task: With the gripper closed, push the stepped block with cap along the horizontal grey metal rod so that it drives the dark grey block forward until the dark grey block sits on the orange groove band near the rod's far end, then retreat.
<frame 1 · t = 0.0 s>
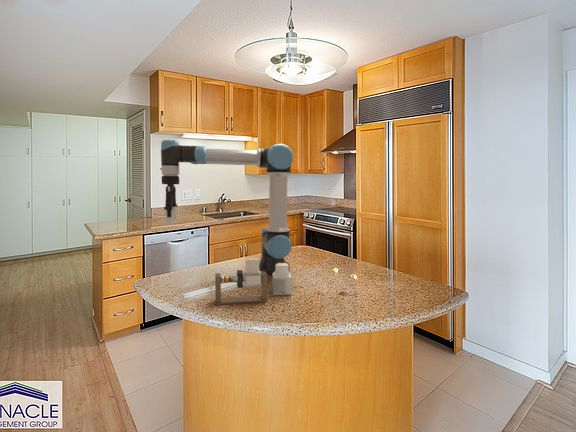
hand: (171, 222, 157), 28 cm above the countertop, fingers open, 13 cm apart
dark grey block: (239, 278, 136), point 9 cm above the countertop, slide at 0.0 cm
rod stand: (241, 300, 137), on the countertop
stepped block with cap: (252, 272, 137), point 11 cm above the countertop, slide at 0.0 cm
container: (281, 292, 149), on the countertop
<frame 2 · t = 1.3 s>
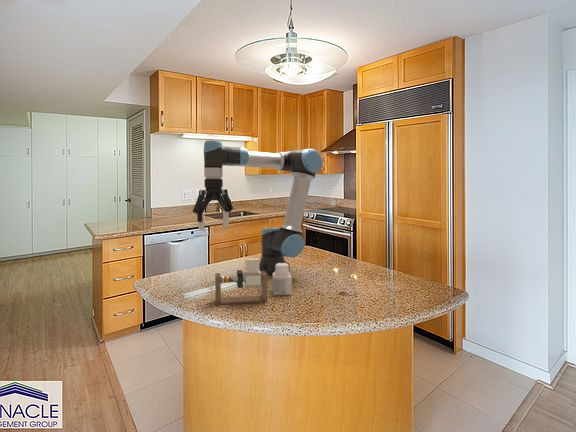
hand: (214, 228, 147), 27 cm above the countertop, fingers open, 13 cm apart
nothing on the countertop moved.
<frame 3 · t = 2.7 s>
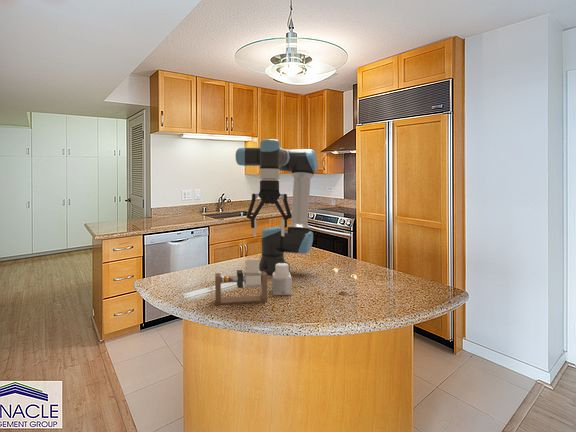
hand: (268, 236, 137), 26 cm above the countertop, fingers open, 10 cm apart
nothing on the countertop moved.
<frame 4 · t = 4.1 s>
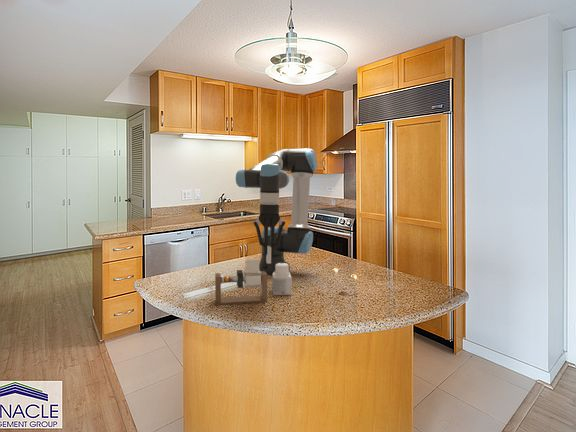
hand: (268, 262, 137), 15 cm above the countertop, fingers closed
nothing on the countertop moved.
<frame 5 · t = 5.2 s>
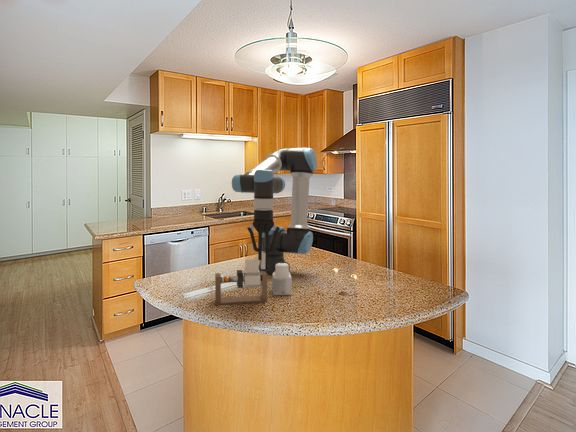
hand: (263, 268, 137), 13 cm above the countertop, fingers closed
stepped block with cap: (251, 272, 137), point 11 cm above the countertop, slide at 0.3 cm, touching gripper
everything else where it was.
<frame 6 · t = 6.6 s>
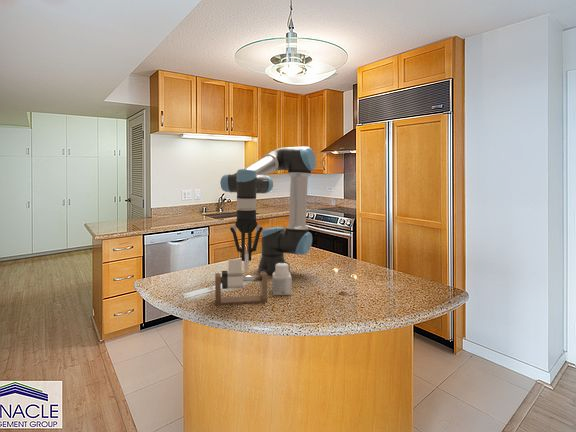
hand: (246, 268, 136), 13 cm above the countertop, fingers closed
dark grey block: (224, 279, 135), point 9 cm above the countertop, slide at 5.9 cm, touching stepped block with cap
stepped block with cap: (235, 272, 135), point 12 cm above the countertop, slide at 6.9 cm, touching gripper, dark grey block
everything else where it was.
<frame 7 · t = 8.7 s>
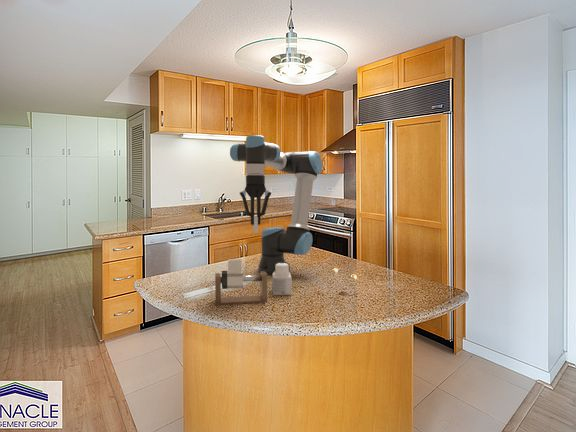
hand: (255, 232, 141), 26 cm above the countertop, fingers closed
stepped block with cap: (234, 272, 135), point 11 cm above the countertop, slide at 7.0 cm, touching dark grey block
everything else where it was.
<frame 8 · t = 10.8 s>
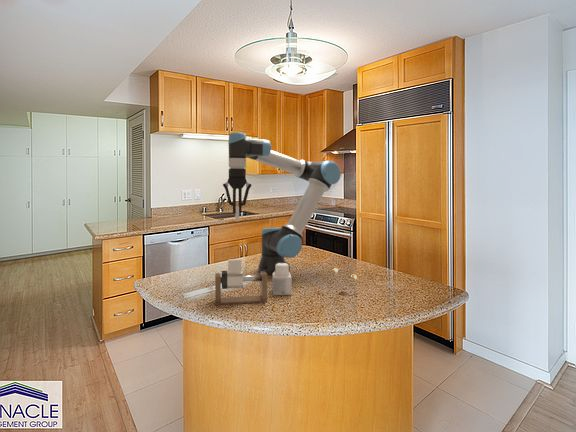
hand: (237, 220, 156), 29 cm above the countertop, fingers closed
nothing on the countertop moved.
at the end: dark grey block slide at 6.0 cm; stepped block with cap slide at 7.0 cm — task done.
